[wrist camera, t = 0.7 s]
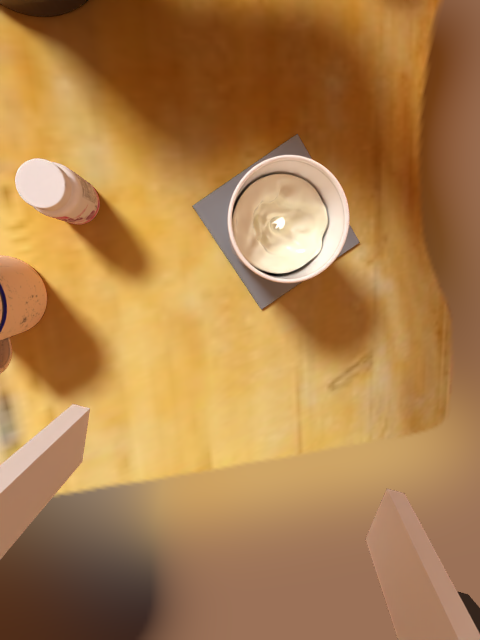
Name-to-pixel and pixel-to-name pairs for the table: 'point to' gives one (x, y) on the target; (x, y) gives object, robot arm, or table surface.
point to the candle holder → (288, 219)
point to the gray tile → (216, 221)
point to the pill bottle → (57, 191)
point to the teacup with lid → (18, 302)
